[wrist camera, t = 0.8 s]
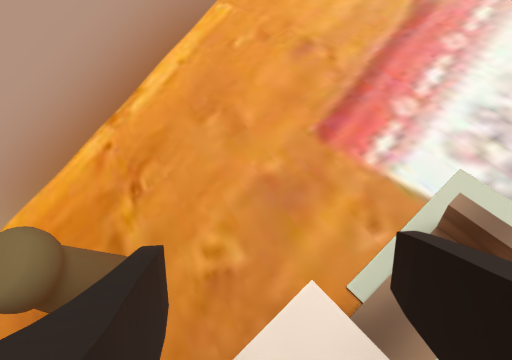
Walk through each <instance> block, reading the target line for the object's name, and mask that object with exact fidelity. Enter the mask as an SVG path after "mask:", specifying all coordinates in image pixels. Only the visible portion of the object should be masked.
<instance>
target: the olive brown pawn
mask: <svg viewBox="0 0 512 360" xmlns="http://www.w3.org/2000/svg"><path fill="white" fill-rule="evenodd" d="M126 258H128V257H126V256H122V255H116V254H110V253H105V252H99V251H93V250H87V249H81V248H75V247H69V246H63V245H61V243H60V242H59V241H58V240H57V239H56V238H55V237H53V236H52V235H51V234H50V233H48V232H46V231H43V230H40V229H37V228H34V227H26V226H24V227H15V228H11V229H7V230H5V231H3V232H0V314H17V313H22V312H27V311H29V310H31V309H37V310H40V311H43V312H46V313H51V312H53V311H55V310H57V309H58V308H60V307H61V306H63V305H65V304H66V303H68V302H69V301H71V300H72V299H74V298H75V297H77V296H78V295H79V294H81V293H82V292H83V291H85V290H86V289H88V288H89V287H90V286H92V285H93V284H95V283H96V282H97V281H99V280H100V279H101V278H103V277H104V276H105V275H107V274H108V273H109V272H110V271H112V270H113V269H114V268H115V267H117V266H118V265H119V264H120V263H122V262H123V261H124V260H125V259H126Z"/></svg>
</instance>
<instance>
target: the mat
mask: <svg viewBox="0 0 512 360" xmlns="http://www.w3.org/2000/svg"><path fill="white" fill-rule="evenodd" d="M459 193H462V194H463V195H465V196H466V197H468V198H469V199H471V200H472V201H474V202H475V203H477V204H478V205H480V206H481V207H483V208H484V209H486V210H487V211H489V212H490V213H492V214H493V215H495V216H496V217H498V218H499V219H501V220H502V221H504V222H505V223H507V224H508V225H510V226H512V201H511V200H510V199H508V198H507V197H505V196H503V195H502V194H500V193H499V192H497V191H495V190H494V189H492V188H490V187H489V186H487V185H486V184H484V183H482V182H481V181H479V180H478V179H476V178H474V177H473V176H471V175H470V174H468V173H466V172H465V171H463V170H462V169H460V170H459V171H458V172H457V173H456V174H455V175H454V176H453V177H452V178H451V179H450V180H449V181H448V182H447V183H446V184H445V185H444V186H443V187H442V188H441V189H440V190H439V191H438V193H437V194H436V195H435V196H434V197H433V198H432V199H431V200H430V201H429V202H428V203H427V204H426V205H425V206H424V207H423V208H422V209H421V210H420V211H419V212H418V213H417V214H416V215H415V216H414V217H413V218H412V219H411V220H410V221H409V222H408V223H407V225H406V226H405V227H404V228H403V229H402V230H401V231H420V232H424V233H428V234H430V233H431V232H432V231H433V230H434V229H435V228H436V227H437V225H438V223H439V221H440V219H441V218H442V216H443V214H444V212H445V210H446V208H447V206H448V205H449V203H450V202H451V201H452V200H453V199H454V198H455V197H456V196H457V195H458V194H459ZM395 243H396V236H395V237H394V238H393V239H392V240H391V241H390V242H389V243H388V244H387V245H386V246H385V247H384V248H383V249H382V250H381V251H380V252H379V253H378V254H377V255H376V257H375V258H374V259H373V260H372V261H371V262H370V263H369V264H368V265H367V266H366V267H365V268H364V269H363V270H362V271H361V272H360V273H359V274H358V275H357V276H356V277H355V278H354V279H353V280H352V281H351V282H350V283H349V284H348V285H347V286H346V287H347V288H348V289H349V290H350V291H351V292H352V293H353V294H354V295H355V296H356V297H357V298H358V299H359V300H360V301H361V302H362V303H364V302H365V301H366V300H367V299H368V298H369V297H370V296H371V295H372V294H373V293H374V292H375V291H376V290H377V288H378V287H379V286H380V285H381V284H382V283H383V282H384V281H385V280H386V279H387V278H388V277H389V276H390V275H391V274H392V268H393V259H394V251H395ZM436 360H438V358H437V359H436Z"/></svg>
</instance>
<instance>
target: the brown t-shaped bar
mask: <svg viewBox="0 0 512 360" xmlns="http://www.w3.org/2000/svg"><path fill="white" fill-rule="evenodd" d="M430 234H432V235H435V236H438V237H441V238H444V239H447V240H450V241H453V242H456V243H459V244H462V245H465V246H468V247H470V248H473V249H476V250H479V251H482V252H485V253H488V254H491V255H494V256H497V257H500V258H503V259H506V260H509V261H512V226H510V225H508V224H507V223H505V222H504V221H502V220H501V219H499V218H498V217H496V216H495V215H493V214H492V213H490V212H489V211H487V210H486V209H484V208H483V207H481V206H480V205H478V204H477V203H475V202H474V201H472V200H471V199H469V198H468V197H466V196H465V195H463V194H462V193H459V194H458V195H457V196H456V197H455V198H454V199H453V200H452V201H451V202H450V203H449V205H448V206H447V208H446V210H445V212H444V214H443V216H442V218H441V219H440V221H439V223H438V225H437V227H436V228H435V229H434V230H433V231H432V232H431V233H430ZM391 276H392V274H391V275H390V276H389V277H388V278H387V279H386V280H385V281H384V282H383V283H382V284H381V285H380V286H379V287H378V288H377V290H376V291H375V292H374V293H373V294H372V295H371V296H370V297H369V298H368V299H367V300H366V301H365V302H364V303H363V304H362V305H361V306H360V307H359V308H358V309H357V310H356V311H355V313H354V314H353V315H352V316H351V317H350V319H351V320H352V321H353V323H354V324H355V325H356V326H357V327H358V328H359V329H360V330H361V331H362V332H363V333H364V334H365V335H366V336H367V337H368V338H369V339H370V340H371V341H372V342H373V343H374V344H375V345H376V346H377V347H378V348H379V349H380V350H381V351H382V352H383V353H384V354H385V355H386V356H387V357H388V359H389V360H436V359H437V357H436V356H435V354H434V353H433V352H432V351H431V349H430V348H429V347H428V345H427V344H426V343H425V341H424V340H423V339H422V338H421V336H420V335H419V334H418V332H417V331H416V330H415V328H414V327H413V326H412V324H411V323H410V322H409V320H408V319H407V317H406V316H405V314H404V313H403V311H402V309H401V308H400V306H399V304H398V302H397V301H396V299H395V297H394V295H393V293H392V291H391V289H390V284H391Z"/></svg>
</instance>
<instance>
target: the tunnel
mask: <svg viewBox="0 0 512 360" xmlns="http://www.w3.org/2000/svg"><path fill="white" fill-rule="evenodd" d="M233 360H389V359H388V357H387V356H386V355H385V354H384V353H383V352H382V351H381V350H380V349H379V348H378V347H377V346H376V345H375V344H374V343H373V342H372V341H371V340H370V339H369V338H368V337H367V336H366V335H365V334H364V333H363V332H362V331H361V330H360V329H359V328H358V327H357V326H356V325H355V324H354V323H353V321H352V320H351V319H350V318H349V317H348V316H347V315H346V314H345V313H344V312H343V311H342V310H341V309H340V308H339V307H338V306H337V305H336V304H335V303H334V302H333V301H332V300H331V299H330V298H329V297H328V296H327V295H326V294H325V293H324V292H323V291H322V290H321V289H320V288H319V287H318V285H317V284H316V283H315V282H314V281H313V280H311V281H310V282H309V283H308V284H307V285H306V286H305V287H304V288H303V289H302V290H301V291H300V292H299V293H298V294H297V295H296V296H295V297H294V298H293V299H292V300H291V301H290V302H289V303H288V304H287V306H286V307H285V308H284V309H283V310H282V311H281V312H280V313H279V314H278V315H277V316H276V317H275V318H274V319H273V320H272V321H271V322H270V323H269V324H268V325H267V326H266V327H265V328H264V329H263V330H262V331H261V332H260V333H259V334H258V335H257V336H256V337H255V338H254V339H253V340H252V341H251V342H250V343H249V344H248V345H247V346H246V347H245V348H244V349H243V350H242V351H241V352H240V353H239V354H238V355H237V356H236V357H235V358H234V359H233Z"/></svg>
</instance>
